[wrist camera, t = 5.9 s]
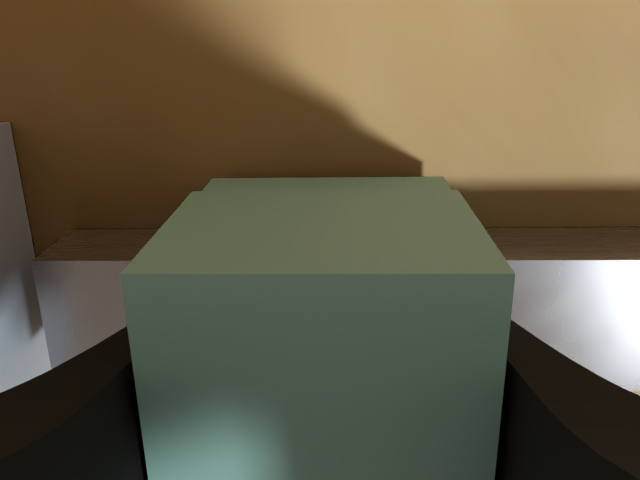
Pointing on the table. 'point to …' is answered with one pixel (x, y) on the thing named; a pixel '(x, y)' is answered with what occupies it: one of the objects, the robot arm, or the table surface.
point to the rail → (514, 243)
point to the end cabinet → (17, 279)
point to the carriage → (320, 333)
